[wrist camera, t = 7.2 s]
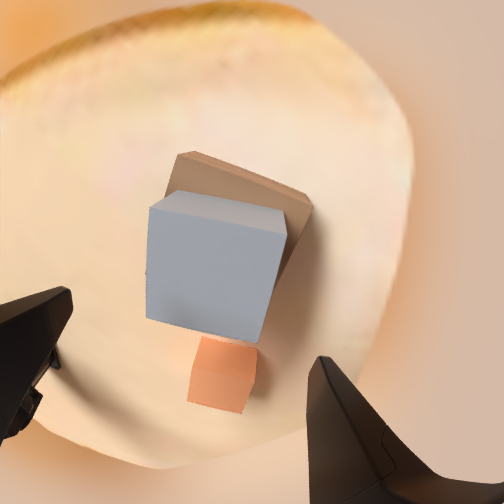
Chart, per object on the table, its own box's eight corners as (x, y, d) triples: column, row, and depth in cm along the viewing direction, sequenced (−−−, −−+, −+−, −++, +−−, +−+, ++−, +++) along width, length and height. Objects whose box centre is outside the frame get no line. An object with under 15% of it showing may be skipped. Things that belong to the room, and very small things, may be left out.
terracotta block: (244, 382, 26) (241, 413, 22) (196, 371, 26) (187, 401, 22) (257, 348, 24) (255, 381, 20) (202, 335, 24) (192, 366, 20)
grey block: (260, 301, 18) (257, 343, 14) (168, 282, 18) (146, 317, 14) (283, 210, 15) (287, 234, 12) (177, 190, 15) (149, 207, 12)
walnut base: (261, 287, 22) (259, 318, 18) (164, 250, 21) (145, 274, 17) (305, 192, 19) (313, 206, 15) (195, 150, 18) (177, 154, 14)
